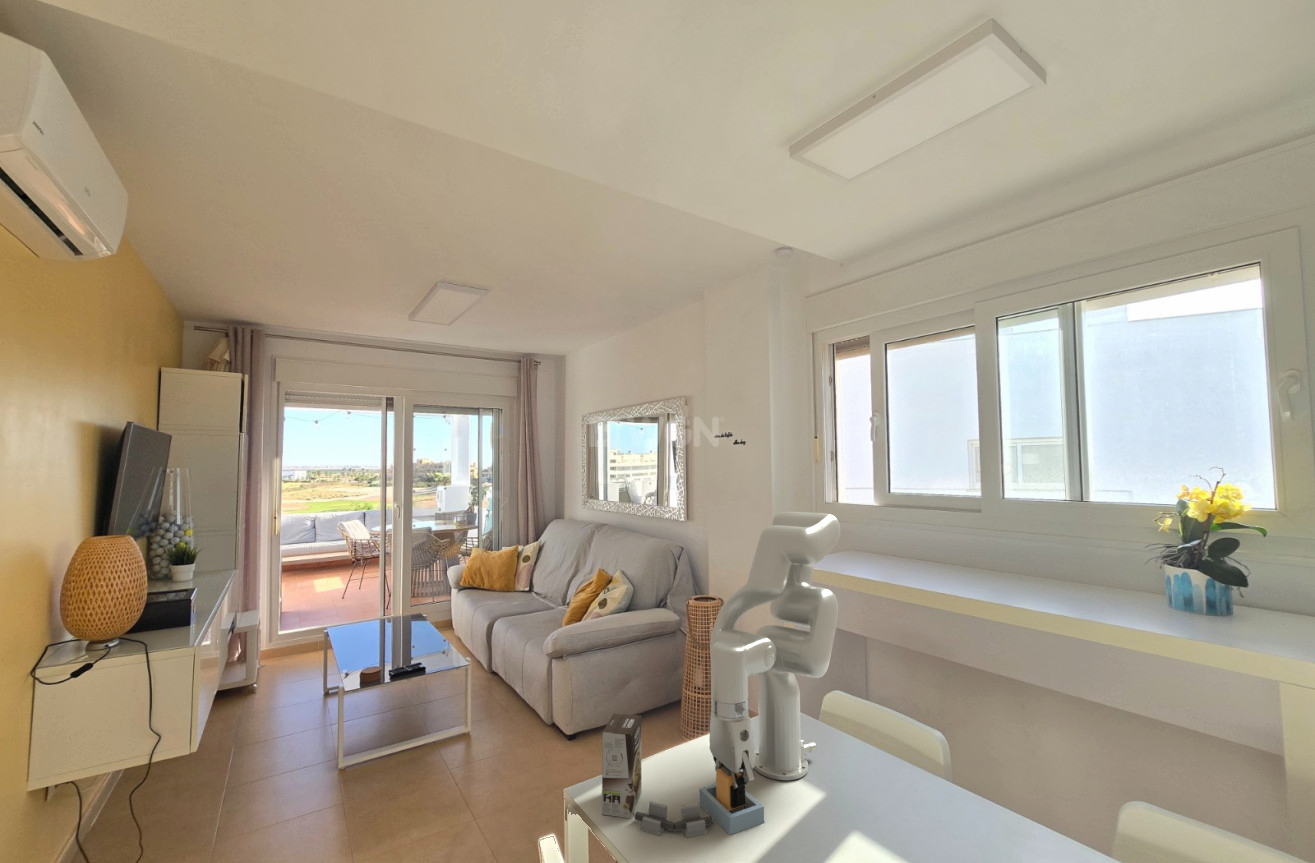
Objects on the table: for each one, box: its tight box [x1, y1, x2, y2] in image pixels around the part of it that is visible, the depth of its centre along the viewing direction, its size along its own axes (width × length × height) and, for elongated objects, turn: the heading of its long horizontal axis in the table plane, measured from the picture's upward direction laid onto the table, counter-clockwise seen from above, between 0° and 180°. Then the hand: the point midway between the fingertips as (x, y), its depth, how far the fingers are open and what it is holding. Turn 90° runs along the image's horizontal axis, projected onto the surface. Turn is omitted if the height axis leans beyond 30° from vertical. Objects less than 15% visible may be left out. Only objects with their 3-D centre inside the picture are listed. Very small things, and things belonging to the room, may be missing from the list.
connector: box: [715, 766, 745, 812], centre depth 111 cm, size 4×4×7 cm
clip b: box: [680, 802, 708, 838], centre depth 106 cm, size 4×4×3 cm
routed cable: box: [634, 811, 714, 832], centre depth 107 cm, size 15×4×1 cm, turn 85°
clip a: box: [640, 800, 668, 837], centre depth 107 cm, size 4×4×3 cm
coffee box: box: [601, 713, 642, 819], centre depth 115 cm, size 9×6×16 cm
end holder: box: [698, 782, 765, 836], centre depth 111 cm, size 8×11×3 cm
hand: (731, 798), depth 111 cm, fingers closed on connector, 4 cm apart
